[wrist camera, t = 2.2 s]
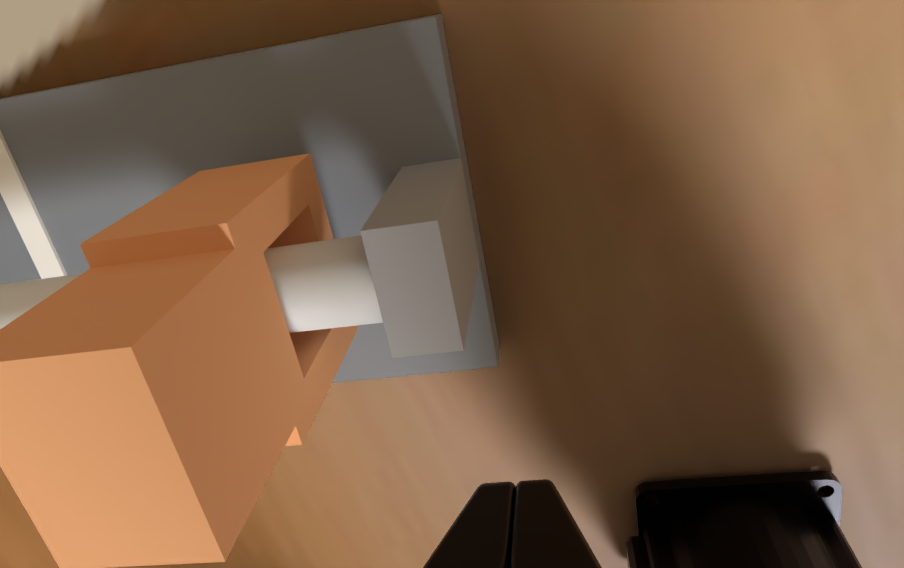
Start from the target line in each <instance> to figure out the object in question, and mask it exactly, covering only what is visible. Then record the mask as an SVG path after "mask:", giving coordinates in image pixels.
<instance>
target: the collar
mask: <svg viewBox="0 0 904 568" xmlns="http://www.w3.org/2000/svg"><path fill="white" fill-rule="evenodd" d="M332 239H334V238H333V235H332V231H331V227H330V224H329V220H328V216H327V213H326V209H325V205H324V202H323V198H322V194H321V191H320V187H319V183H318V180H317V176H316V172H315V169H314V165H313V161H312V158H311V154H310V153H309V154H302V155H296V156H290V157H284V158H277V159H271V160H265V161H259V162H252V163H246V164H240V165H234V166H228V167H221V168H215V169H209V170H203V171H199V172H197V173H196V174H194V175H192V176H191V177H189V178H187V179H186V180H184V181H182V182H181V183H179V184H178V185H176V186H174V187H173V188H171V189H169V190H168V191H166V192H164V193H163V194H161V195H159V196H158V197H156V198H155V199H153V200H151V201H150V202H148V203H146V204H145V205H143V206H141V207H140V208H138V209H136V210H135V211H133V212H132V213H130V214H128V215H127V216H125V217H123V218H122V219H120V220H118V221H117V222H115V223H113V224H112V225H110V226H109V227H107V228H105V229H104V230H102V231H100V232H99V233H97V234H95V235H94V236H92V237H90V238H89V239H87V240H86V241H84V242H82V243H81V244H80V246H81V249H82V251H83V253H84V255H85V258H86V260H87V262H88V264H89V267H90V269H89V270H87V271H86V272H84V273H83V274H81V275H80V276H78V277H77V278H75V279H74V280H72V281H71V282H69V283H68V284H66V285H65V286H63V287H62V288H60V289H59V290H58V291H56V292H55V293H53V294H52V295H50V296H49V297H47V298H46V299H44V300H43V301H41V302H40V303H38V304H37V305H35V306H34V307H32V308H31V309H30V310H28V311H27V312H25V313H24V314H22V315H21V316H19V317H18V318H16V319H15V320H13V321H12V322H10V323H9V324H7V325H6V326H4V327H3V328H2V329H0V466H1V468H2V470H3V472H4V473H5V475H6V477H7V478H8V480H9V482H10V483H11V485H12V487H13V489H14V490H15V492H16V494H17V495H18V497H19V499H20V501H21V502H22V504H23V506H24V507H25V509H26V511H27V513H28V514H29V516H30V518H31V519H32V521H33V523H34V525H35V526H36V528H37V530H38V531H39V533H40V535H41V537H42V538H43V540H44V542H45V543H46V545H47V547H48V549H49V550H50V552H51V554H52V555H53V557H54V559H55V560H56V562H57V564H58V566H59V567H60V568H106V567H127V566H148V565H169V564H190V563H211V562H226V560H227V558H228V556H229V554H230V552H231V550H232V548H233V546H234V544H235V542H236V540H237V538H238V536H239V534H240V532H241V530H242V529H243V527H244V525H245V523H246V521H247V519H248V517H249V515H250V513H251V511H252V509H253V507H254V505H255V503H256V501H257V499H258V498H259V496H260V494H261V492H262V490H263V488H264V486H265V484H266V482H267V480H268V478H269V476H270V474H271V472H272V470H273V468H274V466H275V465H276V463H277V461H278V459H279V457H280V455H281V453H282V451H283V449H284V447H285V446H293V445H302V444H303V442H304V440H305V438H306V436H307V434H308V432H309V429H310V427H311V425H312V423H313V421H314V419H315V417H316V415H317V413H318V411H319V409H320V407H321V405H322V402H323V400H324V398H325V396H326V394H327V392H328V390H329V388H330V386H331V384H332V382H333V380H334V377H335V375H336V373H337V371H338V369H339V367H340V365H341V363H342V361H343V359H344V357H345V355H346V353H347V350H348V348H349V346H350V344H351V342H352V340H353V338H354V336H355V334H356V332H357V330H358V327H357V325H356V326H347V327H338V328H329V329H320V330H311V331H302V332H293V333H289V330H288V327H287V324H286V321H285V318H284V315H283V312H282V309H281V306H280V303H279V299H278V296H277V293H276V290H275V287H274V284H273V281H272V278H271V275H270V272H269V268H268V265H267V262H266V259H265V256H264V253H263V252H264V251H265V250H266V249H267V248H273V247H281V246H288V245H295V244H303V243H310V242H317V241H325V240H332Z"/></svg>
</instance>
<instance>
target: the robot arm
mask: <svg viewBox="0 0 904 568" xmlns="http://www.w3.org/2000/svg"><path fill="white" fill-rule="evenodd" d="M825 485H828V486H827V487H825V488H822V489H819V488H820V487H822V486H825ZM842 492H843V490H842V486H841V484H840V482H839V481H838V479H837V477H836V476H835V475H834V474H833V473H830V472H828V471H813V472H797V473H782V474H766V475H750V476H734V477H718V478H702V479H686V480H670V481H655V482H645V483H642V484H640V485H638V486H637V488H636V489H635V492H634V498H635V510H636V522H637V533H638V536H631V537H630V538H629V539H628V541H627V542H626V551H627V561H628V568H862V567H861V565H860V563H859V561H858V560H857V558H856V556H855V554H854V552H853V551H852V549H851V547H850V545H849V543H848V542H847V540H846V538H845V536H844V534H843V533H842V531H841V529H840V516H841V504H842ZM648 496H655V497H654V498H651V499H646V497H648ZM423 568H601V566H600V564H599V562H598V560H597V559H596V557H595V555H594V553H593V552H592V550H591V548H590V546H589V545H588V543H587V541H586V539H585V538H584V536H583V534H582V532H581V531H580V529H579V527H578V525H577V524H576V522H575V520H574V518H573V517H572V515H571V513H570V511H569V510H568V508H567V506H566V504H565V503H564V501H563V499H562V497H561V496H560V494H559V492H558V490H557V489H556V487H555V485H554V484H553V483H552V482H551V481H550V480H546V479H545V480H529V481H520V482H519V483H518V484H517V486H515V485H514V484H513V483H512V482H498V483H485V484H482V485H480V486H479V487H478V488H477V489H476V491H475V492H474V494H473V495H472V497H471V498H470V500H469V501H468V503H467V504H466V505H465V507H464V508H463V510H462V511H461V513H460V514H459V516H458V517H457V519H456V520H455V522H454V523H453V524H452V526H451V527H450V529H449V530H448V532H447V533H446V535H445V536H444V538H443V539H442V541H441V542H440V544H439V545H438V546H437V548H436V549H435V551H434V552H433V554H432V555H431V557H430V558H429V560H428V561H427V563H426V564H425V565H424V567H423Z"/></svg>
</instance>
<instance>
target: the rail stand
mask: <svg viewBox="0 0 904 568" xmlns="http://www.w3.org/2000/svg"><path fill="white" fill-rule="evenodd" d="M309 153H310V154H311V158H312V161H313V165H314V169H315V172H316V176H317V180H318V183H319V187H320V191H321V194H322V198H323V202H324V205H325V209H326V213H327V216H328V220H329V224H330V227H331V231H332V235H333V238H334V239H332V240H325V241H317V242H310V243H303V244H295V245H288V246H281V247H273V248H267V249H266V250H265V251H264V252H263V253H264V256H265V259H266V262H267V265H268V268H269V272H270V275H271V278H272V281H273V284H274V287H275V290H276V293H277V296H278V299H279V303H280V306H281V309H282V312H283V315H284V318H285V321H286V324H287V327H288V330H289V333H293V332H302V331H311V330H320V329H329V328H338V327H347V326H356V325H357V327H358V330H357V332H356V334H355V336H354V338H353V340H352V342H351V344H350V346H349V348H348V350H347V353H346V355H345V357H344V359H343V361H342V363H341V365H340V367H339V369H338V371H337V373H336V375H335V377H334V380H333V382H332V383H337V382H348V381H358V380H369V379H379V378H389V377H400V376H410V375H421V374H431V373H442V372H452V371H462V370H473V369H483V368H494V367H498V361H499V349H500V346H499V340H498V334H497V329H496V323H495V317H494V311H493V306H492V300H491V294H490V288H489V283H488V277H487V271H486V265H485V260H484V254H483V248H482V242H481V237H480V231H479V225H478V219H477V214H476V208H475V202H474V196H473V191H472V185H471V179H470V174H469V168H468V162H467V156H466V151H465V145H464V139H463V133H462V128H461V122H460V116H459V110H458V105H457V99H456V93H455V87H454V82H453V76H452V70H451V64H450V59H449V53H448V47H447V41H446V36H445V30H444V24H443V18H442V13H441V14H436V15H431V16H425V17H420V18H415V19H410V20H405V21H399V22H394V23H389V24H384V25H379V26H374V27H368V28H363V29H358V30H353V31H348V32H342V33H337V34H332V35H327V36H322V37H316V38H311V39H306V40H301V41H296V42H290V43H285V44H280V45H275V46H270V47H264V48H259V49H254V50H249V51H244V52H238V53H233V54H228V55H223V56H218V57H212V58H207V59H202V60H197V61H192V62H187V63H181V64H176V65H171V66H166V67H161V68H155V69H150V70H145V71H140V72H135V73H129V74H124V75H119V76H114V77H109V78H103V79H98V80H93V81H88V82H83V83H77V84H72V85H67V86H62V87H57V88H51V89H46V90H41V91H36V92H31V93H25V94H20V95H15V96H10V97H5V98H0V329H2V328H3V327H4V326H6V325H7V324H9V323H10V322H12V321H13V320H15V319H16V318H18V317H19V316H21V315H22V314H24V313H25V312H27V311H28V310H30V309H31V308H32V307H34V306H35V305H37V304H38V303H40V302H41V301H43V300H44V299H46V298H47V297H49V296H50V295H52V294H53V293H55V292H56V291H58V290H59V289H60V288H62V287H63V286H65V285H66V284H68V283H69V282H71V281H72V280H74V279H75V278H77V277H78V276H80V275H81V274H83V273H84V272H86V271H87V270H89V269H90V267H89V264H88V262H87V260H86V258H85V255H84V253H83V251H82V249H81V246H80V244H81V243H82V242H84V241H86V240H87V239H89V238H90V237H92V236H94V235H95V234H97V233H99V232H100V231H102V230H104V229H105V228H107V227H109V226H110V225H112V224H113V223H115V222H117V221H118V220H120V219H122V218H123V217H125V216H127V215H128V214H130V213H132V212H133V211H135V210H136V209H138V208H140V207H141V206H143V205H145V204H146V203H148V202H150V201H151V200H153V199H155V198H156V197H158V196H159V195H161V194H163V193H164V192H166V191H168V190H169V189H171V188H173V187H174V186H176V185H178V184H179V183H181V182H182V181H184V180H186V179H187V178H189V177H191V176H192V175H194V174H196V173H197V172H199V171H203V170H209V169H215V168H221V167H228V166H234V165H240V164H246V163H252V162H259V161H265V160H271V159H277V158H284V157H290V156H296V155H302V154H309Z"/></svg>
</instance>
